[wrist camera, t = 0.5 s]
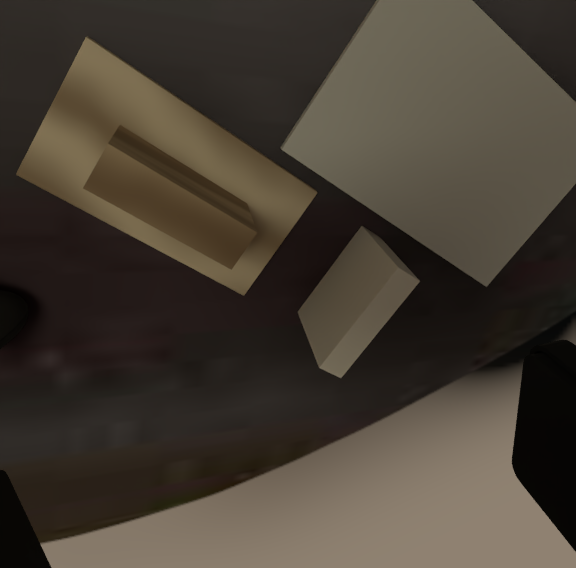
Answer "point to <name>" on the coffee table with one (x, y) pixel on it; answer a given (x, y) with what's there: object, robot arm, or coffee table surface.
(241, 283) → the grout float
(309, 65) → the coffee table surface
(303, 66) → the coffee table surface
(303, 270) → the coffee table surface
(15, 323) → the gaming controller
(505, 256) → the mat
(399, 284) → the tile
